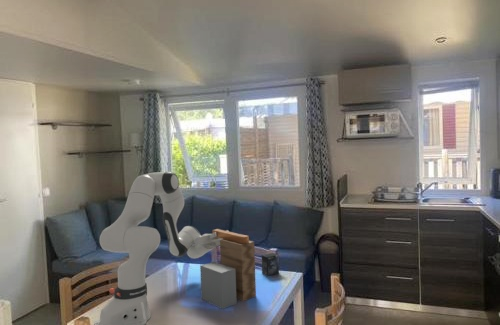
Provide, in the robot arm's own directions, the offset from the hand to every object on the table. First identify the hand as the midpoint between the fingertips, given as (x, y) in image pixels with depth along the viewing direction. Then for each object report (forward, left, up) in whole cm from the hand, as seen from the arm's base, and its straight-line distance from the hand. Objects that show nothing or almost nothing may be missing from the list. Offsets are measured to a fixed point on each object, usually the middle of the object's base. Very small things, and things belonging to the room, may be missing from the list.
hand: (220, 232), depth 196 cm
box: (+32, -3, -28) cm, 43 cm away
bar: (0, -8, -2) cm, 8 cm away
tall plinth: (0, -13, -28) cm, 31 cm away
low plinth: (-12, -13, -28) cm, 33 cm away
